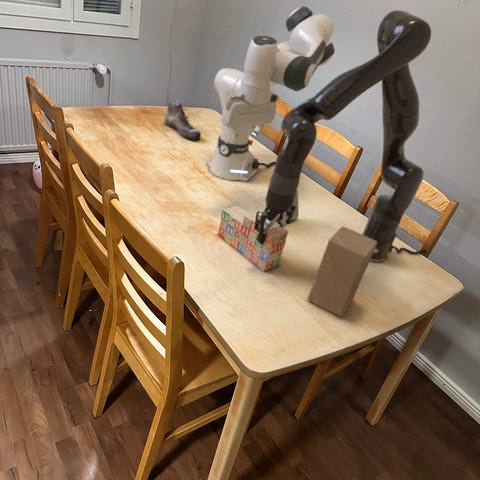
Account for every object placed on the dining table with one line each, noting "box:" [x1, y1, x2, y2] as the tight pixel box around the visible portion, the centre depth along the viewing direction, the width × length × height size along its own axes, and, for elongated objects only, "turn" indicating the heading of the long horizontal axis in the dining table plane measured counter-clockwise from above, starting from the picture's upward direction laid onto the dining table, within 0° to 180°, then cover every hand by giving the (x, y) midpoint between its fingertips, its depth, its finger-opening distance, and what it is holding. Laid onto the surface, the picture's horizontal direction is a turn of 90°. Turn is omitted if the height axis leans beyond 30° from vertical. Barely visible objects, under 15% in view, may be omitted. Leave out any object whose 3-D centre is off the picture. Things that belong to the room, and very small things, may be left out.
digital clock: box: [263, 189, 299, 223], centre depth 151 cm, size 16×9×11 cm, turn 123°
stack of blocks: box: [217, 205, 289, 272], centre depth 131 cm, size 21×6×12 cm, turn 42°
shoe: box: [163, 100, 202, 142], centre depth 205 cm, size 25×11×12 cm, turn 30°
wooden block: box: [307, 226, 377, 318], centre depth 116 cm, size 10×10×20 cm
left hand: (244, 137), depth 141 cm, fingers open, 8 cm apart
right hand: (268, 239), depth 126 cm, fingers closed on stack of blocks, 6 cm apart
